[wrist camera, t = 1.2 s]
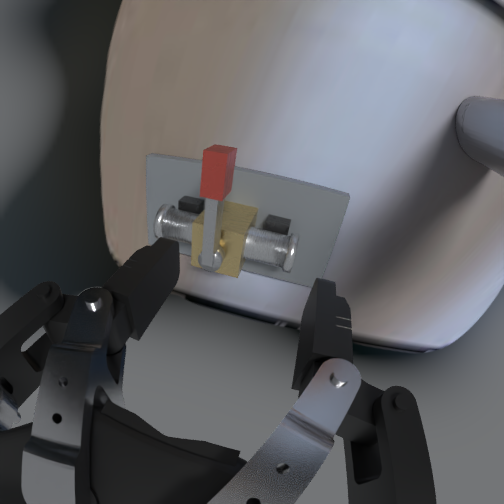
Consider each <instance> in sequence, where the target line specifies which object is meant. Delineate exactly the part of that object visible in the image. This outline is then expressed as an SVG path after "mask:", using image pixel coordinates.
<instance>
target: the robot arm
mask: <svg viewBox="0 0 504 504" xmlns="http://www.w3.org/2000/svg"><path fill="white" fill-rule="evenodd" d="M456 132H457V137H458V140H459V143H460V145H461V146H462V148H463V150H464V151H465V152H466V154H467V155H468V156H470V157H471V158H472V159H474V160H476V161H478V162H480V163H481V164H483V165H485V166H486V167H488V168H490V169H491V170H493V171H495V172H497V173H498V174H500V175H501V176H503V177H504V100H503V99H496V98H489V97H480V96H472V97H469V98H467V99H465V100H464V101H463V102H462V103H461V105H460V107H459V109H458V112H457V115H456ZM179 273H180V258H179V242H178V241H175V240H171V239H167V238H164V237H160V238H159V239H158V240H157V241H156V242H155V243H154V244H153V245H152V246H145V247H143V248H141V249H139V250H137V251H136V252H135V253H134V254H133V255H132V256H131V257H130V258H129V260H127V261H126V262H125V263H124V264H123V266H121V267H120V268H119V269H118V270H117V272H116V273H115V274H114V275H113V276H112V277H111V278H110V279H109V280H108V281H107V282H106V283H105V284H104V285H103V286H102V287H92V288H88V289H86V290H84V291H83V292H81V293H80V294H79V295H78V296H74V295H66V294H62V292H61V290H60V287H59V285H58V284H57V283H55V282H52V281H47V282H43V283H40V284H38V285H37V286H36V287H34V288H33V289H32V290H30V291H29V292H28V293H26V294H25V295H24V296H23V297H21V298H20V299H19V300H18V301H17V302H15V303H14V304H13V305H12V306H10V307H9V308H8V309H7V310H6V311H4V312H3V313H2V314H1V315H0V504H294V503H295V502H296V501H297V499H298V498H299V497H300V495H301V494H302V493H303V491H304V490H305V489H306V487H307V486H308V485H309V483H310V482H311V480H312V479H313V477H314V476H315V474H316V473H317V471H318V470H319V468H320V467H321V465H322V464H323V462H324V461H325V459H326V457H327V456H328V454H329V452H330V451H331V449H332V447H333V445H334V440H333V437H334V435H335V434H336V435H338V436H340V437H342V438H343V440H344V449H345V458H346V471H347V484H348V499H349V504H436V495H435V487H434V480H433V474H432V468H431V462H430V457H429V452H428V447H427V443H426V438H425V434H424V430H423V425H422V421H421V417H420V414H419V410H418V406H417V402H416V399H415V397H414V396H413V394H412V393H411V392H410V391H409V390H407V389H406V388H404V387H401V386H392V387H390V388H388V389H387V390H386V391H382V390H380V389H378V388H376V387H374V386H372V385H370V384H368V383H366V382H365V381H363V380H362V379H361V376H360V373H359V371H358V369H357V368H356V367H355V366H354V365H353V350H352V330H351V328H352V327H351V312H350V307H349V305H348V303H347V301H346V300H345V298H343V297H339V296H336V284H335V282H333V281H329V280H325V279H321V278H316V279H315V282H314V284H313V287H312V290H311V292H310V295H309V297H308V300H307V303H306V305H305V308H304V311H303V315H302V320H301V328H300V336H299V343H298V350H297V357H296V364H295V370H294V377H293V383H292V389H295V390H299V396H298V400H297V402H296V403H295V404H294V406H293V407H292V408H291V410H290V411H289V412H288V414H287V415H286V416H285V418H284V419H283V420H282V422H281V423H280V424H279V425H278V427H277V428H276V429H275V431H274V432H273V433H272V434H271V435H270V437H269V438H268V439H267V440H266V441H265V443H264V444H263V445H262V446H261V447H260V449H259V450H258V451H257V452H256V453H255V454H254V456H253V457H252V458H251V459H250V460H249V461H248V462H247V461H246V460H244V459H241V458H240V457H239V454H240V451H238V450H234V449H230V448H226V447H223V446H219V445H216V444H212V443H209V442H206V441H198V440H188V439H180V438H173V437H168V436H165V435H163V434H161V433H160V432H159V431H157V430H156V429H155V428H153V427H152V426H151V425H149V424H148V423H147V422H145V421H144V420H143V419H142V418H140V417H139V416H137V415H136V414H134V413H132V412H130V411H128V410H126V409H125V402H124V397H123V391H122V385H123V375H124V365H125V356H126V341H127V340H128V338H129V337H131V338H133V339H136V340H138V341H139V340H140V338H141V337H142V335H143V333H144V332H145V330H146V329H147V327H148V326H149V324H150V322H151V321H152V319H153V318H154V317H155V315H156V313H157V312H158V311H159V309H160V308H161V306H162V305H163V303H164V301H165V300H166V299H167V297H168V296H169V294H170V293H171V291H172V290H173V288H174V287H175V285H176V283H177V281H178V278H179ZM42 326H43V328H44V330H45V331H46V333H45V334H44V335H43V336H41V338H39V339H38V340H37V341H36V342H35V343H34V344H33V345H32V346H31V347H30V348H28V349H27V350H26V351H24V352H21V346H22V344H23V343H24V342H25V341H26V340H27V339H28V338H29V337H30V336H32V335H33V334H34V333H35V332H36V331H37V330H38V329H39V328H41V327H42ZM39 386H40V387H39ZM38 387H39V392H38V397H37V402H36V407H35V413H34V419H33V422H31V423H28V424H25V425H22V426H19V427H15V428H12V429H11V427H12V424H13V423H15V424H17V423H19V422H20V420H21V415H20V413H19V412H18V408H19V407H20V406H21V405H22V403H24V401H25V400H26V399H27V398H28V397H29V396H30V395H31V394H32V393H33V392H34V391H35V390H36V389H37V388H38Z"/></svg>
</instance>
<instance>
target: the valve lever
mask: <svg viewBox="0 0 504 504" xmlns="http://www.w3.org/2000/svg"><path fill="white" fill-rule="evenodd" d="M236 152H237V148H233V147H228V146H221V145H213V146H211V147H209V148H207V149H205V150H203V161H202V172H201V185H200V197H205V198H206V201H205V214H204V229H203V245H202V252H201V253H200V255H199V256H198V262H199V264H200V266H201V267H202V268H203V269H205V270H207V271H210V272H214V271H217V270H218V269H219V268H220V266H221V264H222V262H223V260H224V259H225V251H224V249H223V248H222V247H221V246H220V237H221V227H222V218H223V209H224V200H225V198H226V196H227V195H228V194H229V193H230V192H231V189H232V182H233V174H234V167H235V159H236Z"/></svg>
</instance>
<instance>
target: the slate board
mask: <svg viewBox="0 0 504 504" xmlns="http://www.w3.org/2000/svg"><path fill="white" fill-rule="evenodd" d="M201 172H202V160H196V159H190V158H183V157H176V156H169V155H161V154H153V153H152V154H149V155H147V156H146V198H147V224H148V240H149V244H150V245H153V244H154V243H155V242H156V241H157V240H158V239H157V238H156V237H155V235H154V230H153V226H154V220H155V216H156V214H157V211H158V210H159V208H160V207H161V206H162V205H163V204H170V205H174V206H175V208H176V209H178V201H179V200H180V199H181V198H182V197H183V196H190V197H195V198H200V199H204V210H205V201H206V198H205V197H200V185H201ZM349 200H350V196H349V194H348V193H345V192H341V191H338V190H334V189H330V188H327V187H323V186H319V185H315V184H312V183H308V182H304V181H300V180H296V179H292V178H287V177H283V176H279V175H274V174H270V173H265V172H261V171H256V170H251V169H246V168H241V167H236V166H235V167H234V174H233V182H232V189H231V192H230V193H229V194H228V195H227V196H226V198H225V201H230V202H234V203H239V204H243V205H247V206H252V207H256V208H258V213H257V219H256V225H255V227H256V228H260V229H265V224H266V220H267V218H268V215H269V214H271V215H275V216H279V217H283V218H287V219H291V223H290V227H289V231H288V236H291V233H293V234H297V235H300V237H299V242H298V247H297V251H296V255H295V259H294V263H293V266H292V269H291V272H290V273H287V272H283V271H282V268H280V267H276V266H273V265H269V264H265V263H261V262H257V261H253V260H249V259H246V260H245V262H244V265H243V267H242V270H245V271H249V272H253V273H257V274H261V275H265V276H268V277H272V278H276V279H280V280H284V281H288V282H292V283H296V284H300V285H304V286H308V287H313V284H314V282H315V279H316V278H321V279H322V277H323V274H324V272H325V269H326V266H327V264H328V261H329V258H330V255H331V253H332V250H333V247H334V244H335V241H336V239H337V236H338V233H339V230H340V227H341V224H342V221H343V218H344V215H345V212H346V209H347V206H348V203H349ZM171 240H172V239H171ZM175 241H176V240H175ZM178 242H179V253H182V254H186V255H189V256H191V251H192V245H191V244H188V243H184V242H180V241H178Z"/></svg>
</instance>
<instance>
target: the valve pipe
mask: <svg viewBox="0 0 504 504" xmlns="http://www.w3.org/2000/svg"><path fill="white" fill-rule="evenodd" d="M257 213H258V208H256V207H252V206H247V205H243V204H239V203H234V202H230V201H225V200H224V209H223V218H222V227H221V237H220V246H221V247H222V248H223V249H224V251H225V259H224V260H223V262H222V264H221V266H220V268H219V269H218V270H217V271H214V272H217V273H221V274H225V275H228V276H232V277H236V278H238V276H239V274H240V272H241V269H242V267H243V265H244V262H245V260H246V259H249V260H253V261H257V262H261V263H265V264H269V265H273V266H276V267H280V268H282V271H283V272H287V273H290V272H291V269H292V266H293V263H294V259H295V255H296V251H297V247H298V242H299V237H300V235H297V234H293V233H291V236H288V231H289V227H290V223H291V219H287V218H283V217H279V216H275V215H271V214H269V215H268V218H267V220H266V224H265V229H260V228H256V227H255V225H256V219H257ZM204 214H205V210H204V199H200V198H195V197H190V196H183V197H182V198H181V199H180V200H179V201H178V209H176V208H175V206H174V205H170V204H163V205H162V206H161V207H160V208H159V210H158V211H157V214H156V216H155V220H154V226H153V230H154V235H155V237H156V238H157V239H159V238H160V237H164V238H167V239H172V240H176V241H180V242H184V243H188V244H191V245H192V251H191V265H192V266H196V267H199V268H202V267H201V266H200V264H199V262H198V256H199V255H200V253H201V252H202V245H203V229H204Z"/></svg>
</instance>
